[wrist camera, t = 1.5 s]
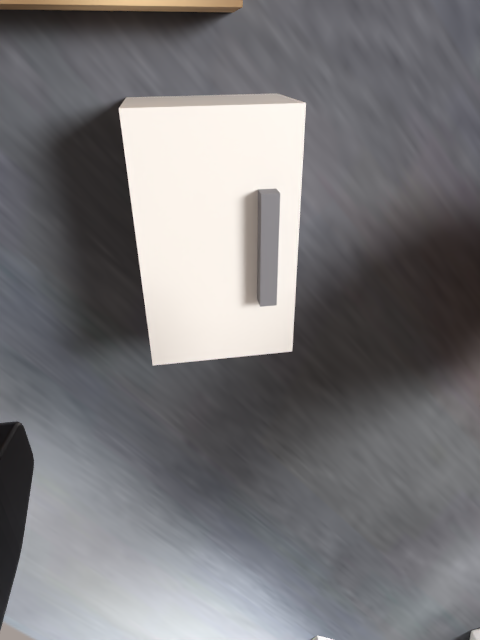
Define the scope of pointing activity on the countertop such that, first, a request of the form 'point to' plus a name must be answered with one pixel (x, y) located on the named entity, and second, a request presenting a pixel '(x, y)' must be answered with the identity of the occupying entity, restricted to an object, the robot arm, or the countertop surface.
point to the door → (216, 220)
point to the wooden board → (125, 5)
